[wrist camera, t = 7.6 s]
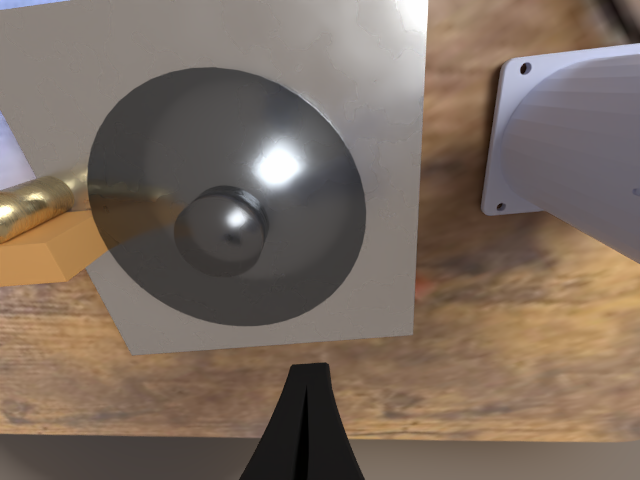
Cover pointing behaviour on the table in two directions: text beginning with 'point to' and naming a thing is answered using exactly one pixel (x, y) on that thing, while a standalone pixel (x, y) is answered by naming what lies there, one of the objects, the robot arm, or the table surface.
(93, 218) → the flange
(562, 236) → the table surface
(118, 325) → the base plate
